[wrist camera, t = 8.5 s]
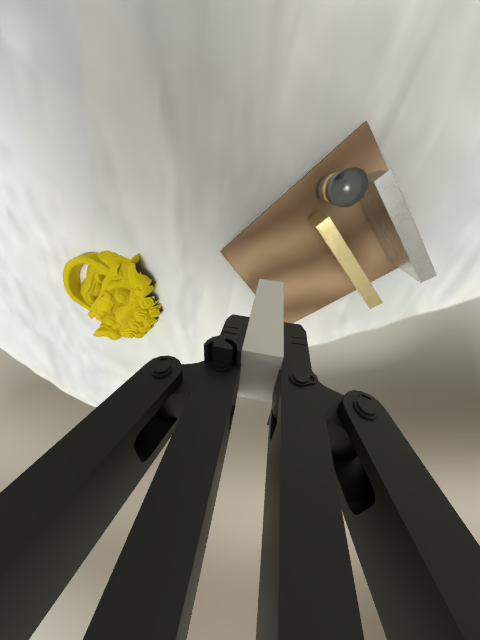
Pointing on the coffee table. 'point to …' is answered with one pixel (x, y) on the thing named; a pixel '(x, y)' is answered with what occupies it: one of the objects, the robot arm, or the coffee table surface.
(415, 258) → the fixed leaf
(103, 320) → the door knocker
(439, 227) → the coffee table surface
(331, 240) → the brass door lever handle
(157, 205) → the coffee table surface
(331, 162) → the walnut board
